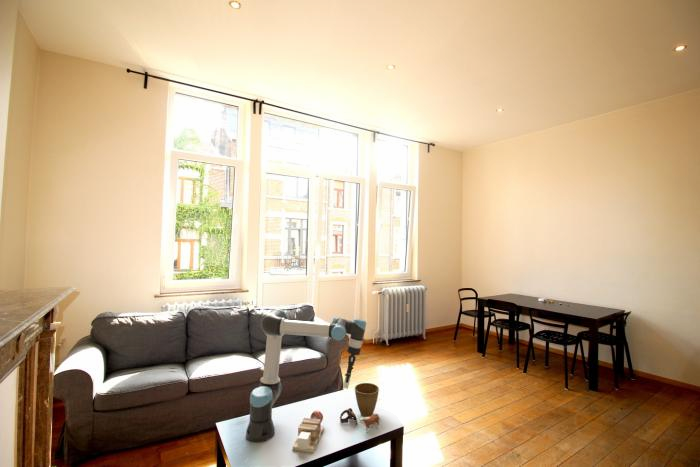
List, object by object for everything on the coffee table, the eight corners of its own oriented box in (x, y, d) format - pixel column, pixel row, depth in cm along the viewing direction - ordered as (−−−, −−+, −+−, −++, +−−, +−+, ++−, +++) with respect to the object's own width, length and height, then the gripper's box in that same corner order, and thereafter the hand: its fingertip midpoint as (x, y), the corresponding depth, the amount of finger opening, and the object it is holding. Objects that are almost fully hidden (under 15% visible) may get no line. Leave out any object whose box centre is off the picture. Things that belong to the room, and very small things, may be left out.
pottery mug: (358, 428, 190) (351, 417, 188) (343, 434, 191) (337, 423, 190) (359, 412, 201) (353, 402, 200) (345, 418, 203) (339, 407, 201)
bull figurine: (357, 431, 186) (357, 416, 186) (376, 424, 193) (376, 410, 193) (361, 435, 182) (362, 420, 182) (381, 428, 189) (381, 413, 190)
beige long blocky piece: (313, 453, 166) (313, 436, 166) (292, 450, 168) (292, 433, 168) (323, 431, 186) (323, 416, 186) (304, 428, 188) (305, 414, 188)
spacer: (307, 449, 166) (307, 439, 166) (297, 448, 167) (297, 437, 167) (310, 442, 172) (310, 432, 172) (301, 441, 173) (301, 431, 173)
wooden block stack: (313, 443, 172) (313, 430, 172) (300, 442, 174) (300, 428, 174) (323, 423, 192) (323, 411, 192) (311, 422, 193) (311, 410, 193)
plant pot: (351, 410, 209) (351, 384, 210) (373, 406, 214) (373, 381, 214) (359, 422, 195) (359, 394, 196) (382, 418, 200) (382, 391, 200)
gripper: (360, 353, 179) (351, 393, 176) (361, 343, 203) (353, 378, 201) (346, 349, 179) (337, 389, 177) (349, 340, 204) (341, 375, 202)
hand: (346, 384), depth 189 cm, fingers open, 13 cm apart
